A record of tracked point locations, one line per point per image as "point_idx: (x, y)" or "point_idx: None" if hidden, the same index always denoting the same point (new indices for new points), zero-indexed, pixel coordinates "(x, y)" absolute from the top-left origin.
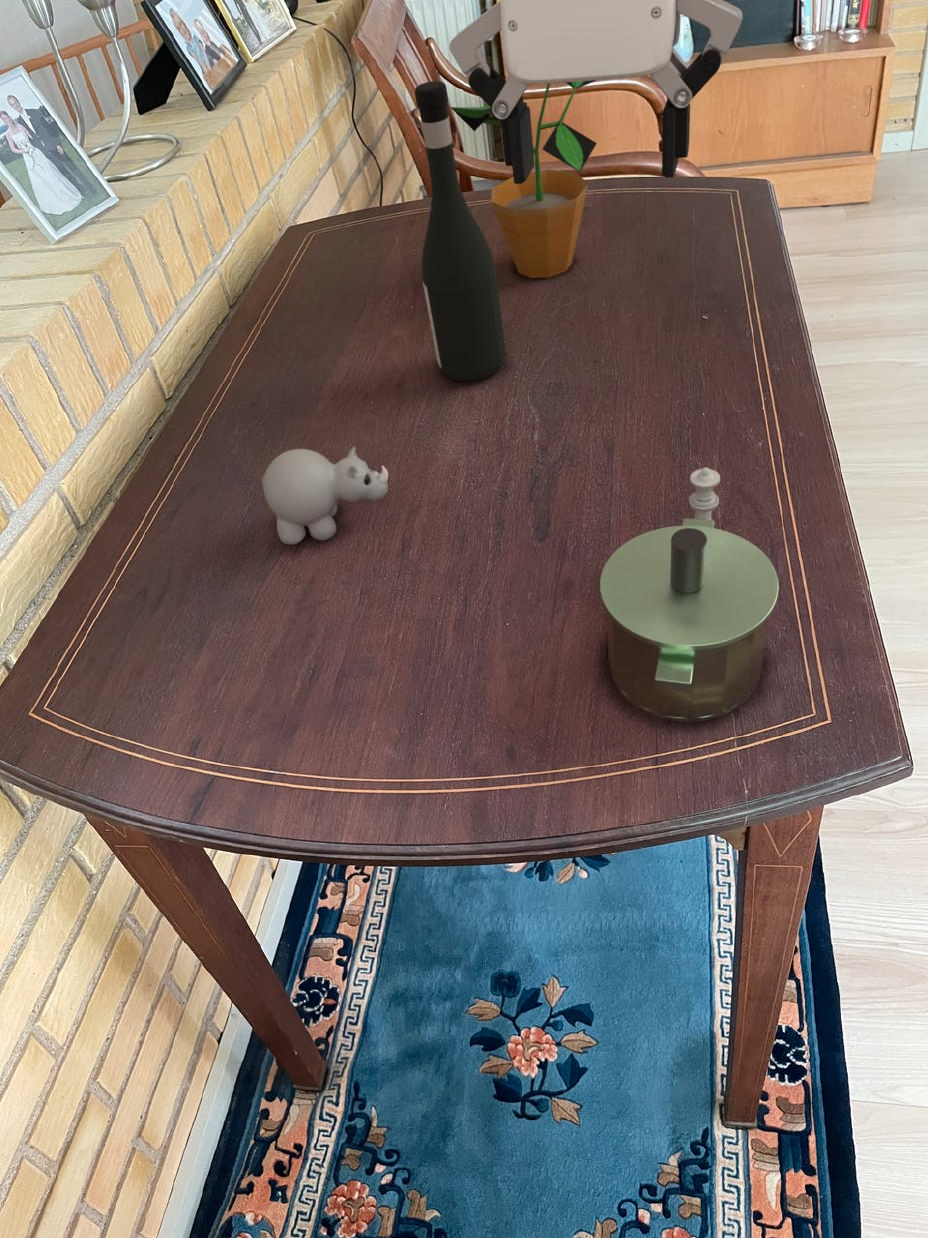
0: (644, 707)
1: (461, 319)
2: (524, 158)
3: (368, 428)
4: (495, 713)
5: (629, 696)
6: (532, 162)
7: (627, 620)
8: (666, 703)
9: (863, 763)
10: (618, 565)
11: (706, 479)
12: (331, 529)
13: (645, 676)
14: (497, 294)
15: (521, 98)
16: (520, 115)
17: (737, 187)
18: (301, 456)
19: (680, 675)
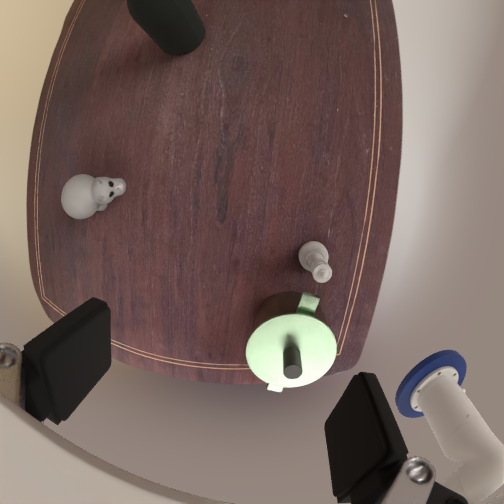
0: None
1: (163, 35)
2: (94, 374)
3: (118, 101)
4: (201, 337)
5: None
6: (105, 321)
7: (257, 372)
8: None
9: (343, 370)
10: (257, 339)
11: (322, 278)
12: (104, 207)
13: None
14: (191, 11)
15: (31, 394)
16: (52, 401)
17: None
18: (71, 198)
19: (277, 389)
